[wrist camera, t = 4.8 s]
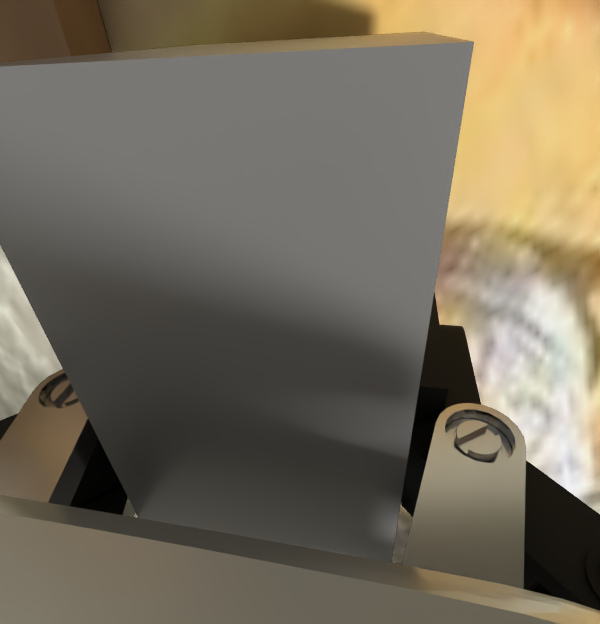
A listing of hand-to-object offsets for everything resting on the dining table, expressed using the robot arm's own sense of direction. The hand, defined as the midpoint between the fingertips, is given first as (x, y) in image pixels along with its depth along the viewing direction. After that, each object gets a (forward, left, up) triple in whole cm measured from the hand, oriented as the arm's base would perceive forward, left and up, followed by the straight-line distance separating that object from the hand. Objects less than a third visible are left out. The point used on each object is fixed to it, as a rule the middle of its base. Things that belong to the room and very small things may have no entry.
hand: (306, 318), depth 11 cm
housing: (0, 0, -1) cm, 1 cm away
